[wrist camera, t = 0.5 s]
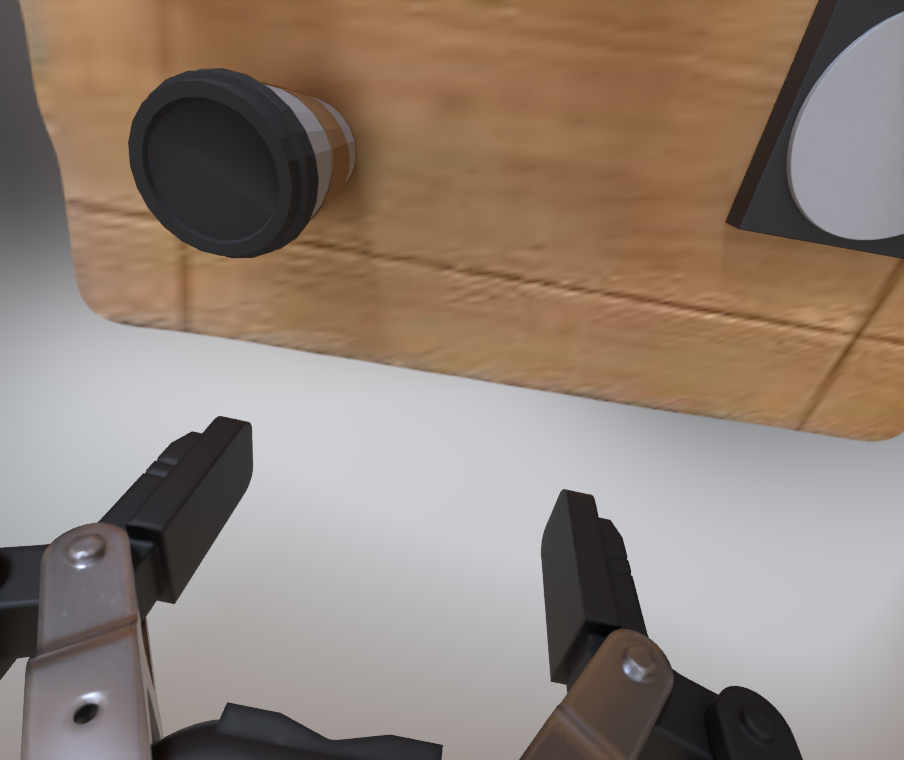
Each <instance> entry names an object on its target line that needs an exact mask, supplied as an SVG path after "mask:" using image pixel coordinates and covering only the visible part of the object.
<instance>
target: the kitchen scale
mask: <svg viewBox="0 0 904 760" xmlns="http://www.w3.org/2000/svg"><path fill="white" fill-rule="evenodd" d="M726 223H728V224H730V225H732V226H734V227H736V228H738V229H741V230H746V231H752V232H757V233H763V234H768V235H774V236H780V237H785V238H791V239H796V240H802V241H807V242H813V243H818V244H824V245H830V246H835V247H841V248H846V249H852V250H857V251H863V252H868V253H874V254H879V255H885V256H891V257H896V258H902V259H904V0H819V2H818V5H817V7H816V9H815V12H814V14H813V17H812V19H811V21H810V24H809V26H808V28H807V31H806V33H805V35H804V38H803V40H802V43H801V45H800V47H799V50H798V52H797V54H796V57H795V59H794V62H793V64H792V66H791V69H790V71H789V73H788V76H787V78H786V81H785V83H784V85H783V88H782V90H781V92H780V95H779V97H778V100H777V102H776V104H775V107H774V109H773V111H772V114H771V116H770V119H769V121H768V123H767V126H766V128H765V130H764V133H763V135H762V138H761V140H760V142H759V145H758V147H757V149H756V152H755V154H754V156H753V159H752V161H751V164H750V166H749V168H748V171H747V173H746V175H745V178H744V180H743V183H742V185H741V187H740V190H739V192H738V194H737V197H736V199H735V202H734V204H733V206H732V209H731V211H730V213H729V216H728V218H727V221H726Z"/></svg>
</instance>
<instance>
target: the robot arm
mask: <svg viewBox="0 0 904 760" xmlns="http://www.w3.org/2000/svg"><path fill="white" fill-rule="evenodd" d="M252 451H253V450H252V426H251V424H250V423H249V422H246V421H242V420H237V419H232V418H227V417H222V416H218V417H217V418H215V419H214V420H213V422H212V423H211V424H210V425H209V426H208V427H207V429H206V430H205V431H204V432H203V433H197V432H190V433H188V434H186V435H185V436H183V437H181V438H179V439H177V440H176V441H174V442H172V443H171V444H170V445H169V446H168V447H167V448H166V449H165V450H164V451H163V453H162V454H161V455H160V456H159V457H158V460H157V461H154V462H153V463H152V464H151V466H150V467H149V468H148V469H147V470H146V473H145V474H144V473H143V474H142V475H141V476H140V477H139V479H138V480H137V481H136V482H135V483H134V484H133V485H132V486H131V487H130V488H129V489H128V490H127V492H126V493H125V494H124V495H123V496H122V497H121V498H120V499H119V500H118V501H117V502H116V504H115V505H114V506H113V507H112V508H111V509H110V510H109V511H108V512H107V513H106V514H105V515H104V516H103V518H102V519H101V520H100V521H98V522H97V523H91V524H86V525H82V526H79V527H76V528H74V529H71V530H70V531H67V532H66V533H64V534H62V535H61V536H59V537H58V538H56V539H55V540H54V541H53V542H52V543H51V544H46V545H34V546H19V547H4V548H0V680H1V679H2V677H3V676H4V675H5V673H6V672H7V671H8V670H9V668H10V667H11V666H12V664H13V663H14V662H15V661H16V659H17V658H23V657H30V658H29V659H28V662H27V666H26V674H25V689H24V707H23V725H22V742H21V760H441V757H442V748H443V745H440V744H435V743H430V742H424V741H420V740H415V739H410V738H405V737H400V736H395V735H383V736H372V737H362V738H353V739H343V740H330V739H327V738H325V737H323V736H321V735H320V734H318V733H316V732H314V731H312V730H311V729H309V728H307V727H305V726H303V725H302V724H300V723H298V722H296V721H294V720H292V719H291V718H289V717H287V716H285V715H283V714H281V713H278V712H273V711H268V710H263V709H258V708H253V707H248V706H243V705H238V704H233V703H227V704H226V706H225V709H224V711H223V713H222V715H221V717H220V719H219V720H211V721H206V722H202V723H198V724H194V725H192V726H189V727H186V728H183V729H181V730H179V731H177V732H174V733H172V734H170V735H168V736H166V737H163V731H162V724H161V718H160V713H159V707H158V701H157V694H156V686H155V679H154V671H153V663H152V655H151V648H150V640H149V632H148V625H147V618H146V616H147V614H148V613H149V611H150V610H151V608H152V607H153V605H154V604H155V602H156V601H162V602H167V603H172V604H175V603H176V601H177V600H178V598H179V596H180V595H181V593H182V592H183V590H184V589H185V587H186V585H187V584H188V582H189V581H190V579H191V577H192V576H193V574H194V573H195V571H196V570H197V568H198V566H199V565H200V563H201V562H202V560H203V558H204V557H205V555H206V554H207V552H208V551H209V549H210V547H211V546H212V544H213V542H214V541H215V539H216V538H217V536H218V535H219V533H220V532H221V530H222V528H223V527H224V525H225V524H226V522H227V521H228V519H229V517H230V516H231V514H232V513H233V511H234V509H235V508H236V506H237V505H238V503H239V501H240V500H241V498H242V497H243V495H244V494H245V492H246V490H247V488H248V486H249V483H250V480H251V477H252V472H253V452H252ZM541 559H542V572H543V584H544V598H545V611H546V624H547V637H548V651H549V663H550V676H551V682H555V683H561V684H566V685H567V695H566V696H565V698H564V699H563V700H562V702H561V703H560V704H559V705H558V706H557V707H556V709H555V710H554V711H553V712H552V714H551V715H550V717H549V718H548V719H547V721H546V722H545V724H544V725H543V726H542V728H541V729H540V731H539V732H538V734H537V735H536V737H535V738H534V739H533V741H532V742H531V744H530V745H529V746H528V748H527V750H526V751H525V752H524V753H523V755H522V756H521V758H520V759H519V760H803V759H802V756H801V754H800V751H799V749H798V746H797V743H796V741H795V738H794V736H793V734H792V732H791V729H790V727H789V726H788V724H787V723H786V721H785V719H784V718H783V716H782V715H781V714H780V713H779V711H778V710H777V709H776V708H775V707H774V706H773V705H772V704H771V703H770V702H769V701H767V700H766V699H765V698H763V697H762V696H761V695H759V694H758V693H756V692H754V691H752V690H750V689H747V688H744V687H740V686H730V687H727V688H725V689H724V690H722V691H721V693H720V694H719V695H718V694H716V693H714V692H712V691H710V690H708V689H706V688H704V687H703V686H701V685H699V684H697V683H695V682H693V681H691V680H689V679H687V678H686V677H684V676H682V675H680V674H679V673H677V672H676V671H675V670H673V669H672V667H671V665H670V662H669V661H668V659H667V657H666V655H665V654H664V653H663V651H662V650H661V649H660V648H659V647H658V645H657V644H656V643H654V642H653V641H652V640H651V639H649V637H648V634H647V631H646V627H645V623H644V620H643V615H642V612H641V608H640V604H639V600H638V596H637V592H636V588H635V585H634V580H633V576H631V569H630V565H629V561H628V560H627V553H626V549H625V546H624V542H623V538H622V536H621V535H620V533H619V532H618V530H617V529H616V528H615V526H614V525H613V523H612V522H611V520H608V519H604V518H599V517H598V512H597V507H596V503H595V499H594V497H593V496H592V495H590V494H584V493H580V492H575V491H571V490H566V489H563V490H562V491H561V492H560V494H559V497H558V499H557V502H556V504H555V506H554V509H553V511H552V513H551V516H550V518H549V520H548V523H547V525H546V528H545V530H544V533H543V538H542V545H541Z"/></svg>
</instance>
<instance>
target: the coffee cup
mask: <svg viewBox="0 0 904 760" xmlns="http://www.w3.org/2000/svg"><path fill="white" fill-rule="evenodd" d="M128 145H129V158H130V167H131V170H132V173H133V176H134V180H135V183H136V186H137V189H138V190H139V192H140V194H141V196H142V198H143V199H144V201H145V203H146V205H147V207H148V208H149V210H150V211H151V212H152V213H153V214H154V216H155V217H156V218H157V219H158V220H159V222H160V223H161V224H162V225H163V226H164V227H165V228H166V229H167V230H169V231H170V232H171V233H172V234H174V235H175V236H176V237H177V238H179V239H180V240H181V241H183V242H185V243H187V244H189V245H191V246H193V247H195V248H197V249H198V250H200V251H204V252H208V253H212V254H216V255H220V256H226V257H230V258H253V257H257V256H260V255H263V254H266V253H270V252H273V251H275V250H278V249H281V248H283V247H284V246H286V245H287V244H288V243H290V242H291V241H293V240H294V239H296V238H297V237H298V236H299V234H300V233H301V232H302V231H303V229H304V228H305V227H306V225H307V224H308V223H309V221H310V220H311V219H313V218H314V217H315V216H316V215H317V214H318V213H319V212H320V211H321V210H322V209H323V208H324V207H325V206H326V205H327V204H328V203H329V202H330V201H331V200H332V199H333V198H334V197H335V196H336V195H337V193H338V192H339V191H340V190H341V188H342V187H343V186H344V185H345V183H346V182H347V181H348V179H349V178H350V176H351V173H352V171H353V169H354V165H355V157H356V151H355V142H354V138H353V136H352V133H351V130H350V128H349V126H348V124H347V123H346V121H345V120H344V118H343V116H342V115H341V114H340V113H339V112H338V111H337V110H336V109H335V108H334V107H332V106H331V105H329V104H327V103H326V102H324V101H322V100H320V99H317V98H313V97H310V96H309V95H307V94H303V93H300V92H296V91H292V90H289V89H285V88H282V87H278V86H274V85H271V84H267V83H260V82H259V81H257V80H255V79H254V78H252V77H250V76H248V75H246V74H242V73H238V72H235V71H231V70H227V69H224V68H218V69H199V70H196V71H186V72H184V73H181V74H179V75H176V76H174V77H171V78H168V79H166V80H165V81H164V82H163V83H161V84H160V85H159V86H158V87H157V88H156V89H155V90H154V91H153V92H151V93H150V94H149V96H148V98H147V99H146V100H145V101H144V102H142V104H141V106H140V108H139V110H138V111H137V113H136V115H135V117H134V119H133V121H132V126H131V131H130V136H129V142H128Z"/></svg>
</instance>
